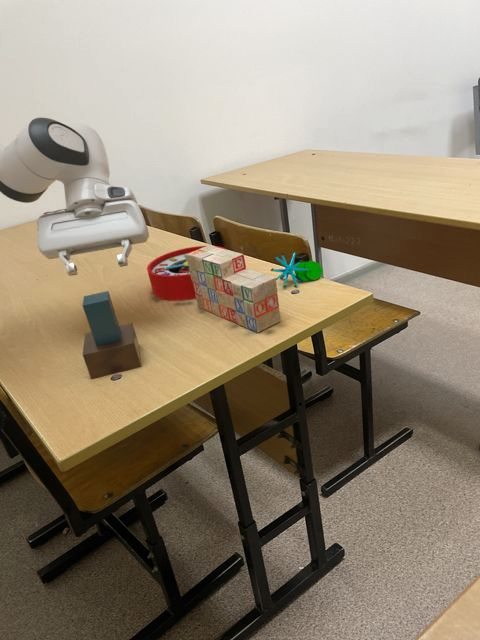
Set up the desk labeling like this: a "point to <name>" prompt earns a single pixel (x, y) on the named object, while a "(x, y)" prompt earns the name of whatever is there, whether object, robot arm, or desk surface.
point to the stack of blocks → (233, 288)
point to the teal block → (102, 318)
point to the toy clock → (172, 275)
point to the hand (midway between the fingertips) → (97, 269)
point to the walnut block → (112, 353)
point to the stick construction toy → (299, 270)
